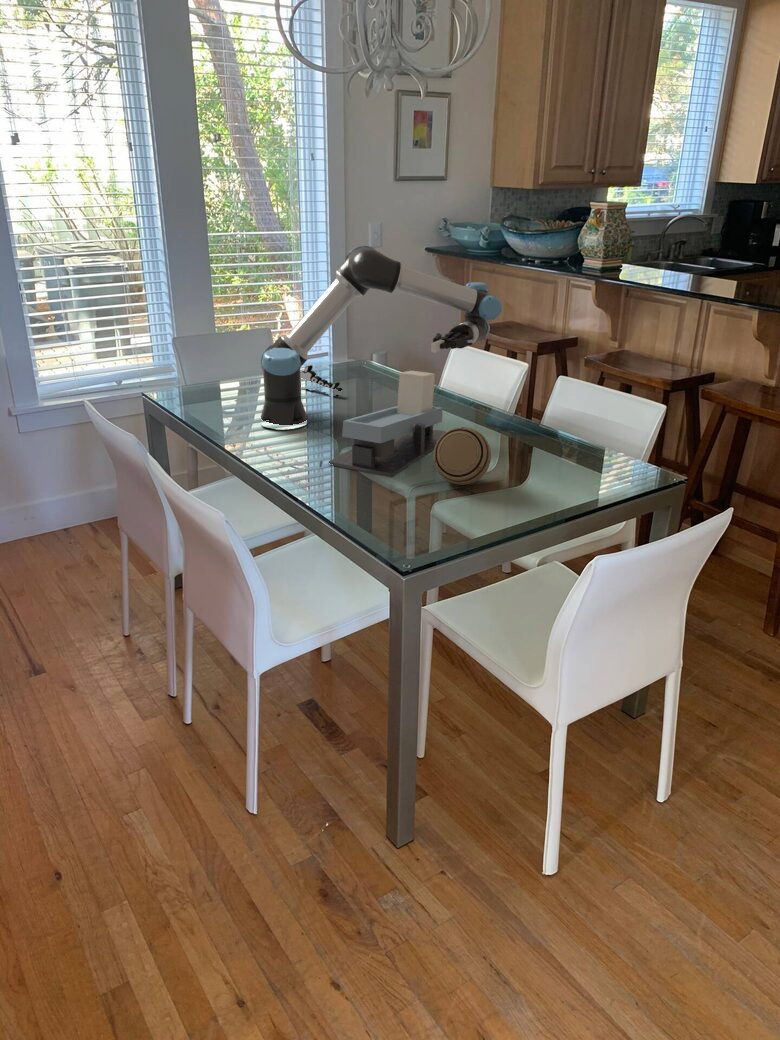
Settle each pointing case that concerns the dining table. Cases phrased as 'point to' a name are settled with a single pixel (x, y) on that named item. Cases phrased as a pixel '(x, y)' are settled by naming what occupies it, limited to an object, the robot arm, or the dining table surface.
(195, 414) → the dining table surface
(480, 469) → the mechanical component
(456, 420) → the dining table surface
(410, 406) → the block
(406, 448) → the beam stand
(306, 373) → the logo
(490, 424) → the dining table surface
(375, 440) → the grey tray on legs
